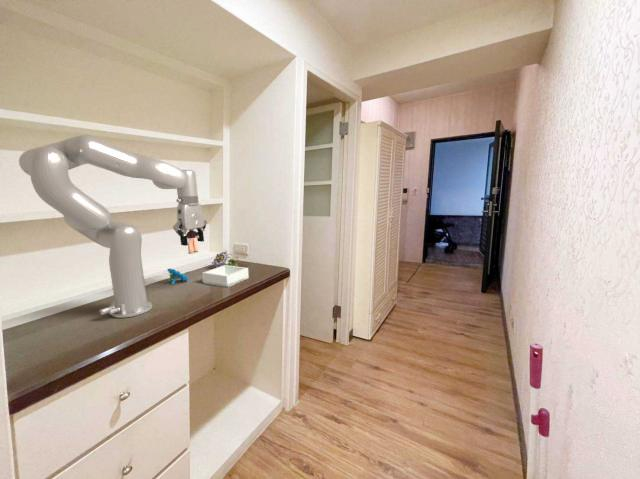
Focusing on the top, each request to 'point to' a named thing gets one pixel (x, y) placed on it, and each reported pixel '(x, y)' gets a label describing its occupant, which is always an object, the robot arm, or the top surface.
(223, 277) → the bin
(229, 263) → the passion flower
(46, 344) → the top surface
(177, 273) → the blue dinosaur toy
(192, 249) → the grandmother figurine
